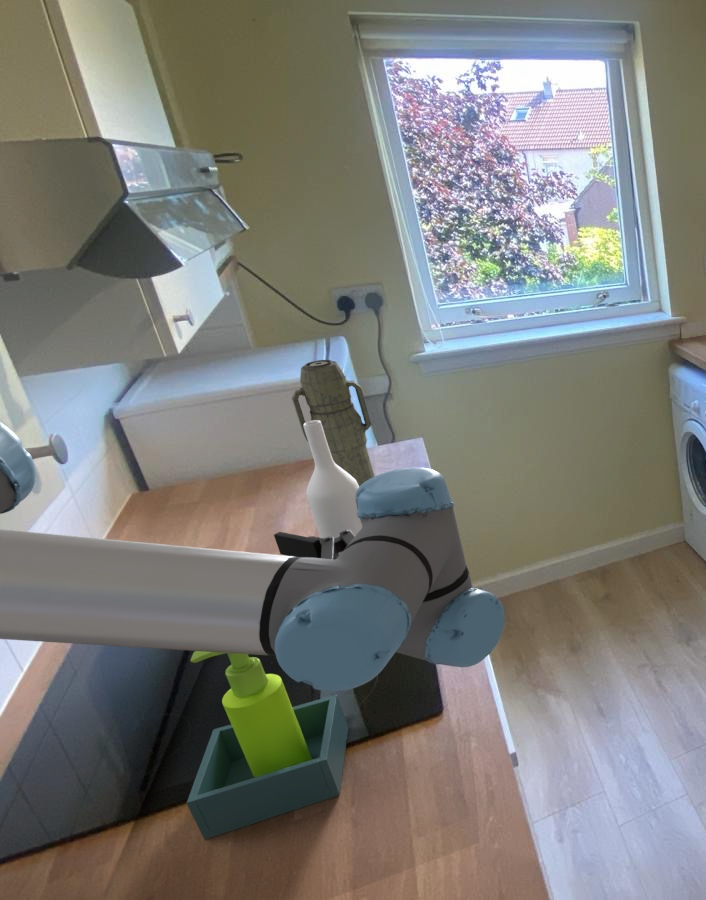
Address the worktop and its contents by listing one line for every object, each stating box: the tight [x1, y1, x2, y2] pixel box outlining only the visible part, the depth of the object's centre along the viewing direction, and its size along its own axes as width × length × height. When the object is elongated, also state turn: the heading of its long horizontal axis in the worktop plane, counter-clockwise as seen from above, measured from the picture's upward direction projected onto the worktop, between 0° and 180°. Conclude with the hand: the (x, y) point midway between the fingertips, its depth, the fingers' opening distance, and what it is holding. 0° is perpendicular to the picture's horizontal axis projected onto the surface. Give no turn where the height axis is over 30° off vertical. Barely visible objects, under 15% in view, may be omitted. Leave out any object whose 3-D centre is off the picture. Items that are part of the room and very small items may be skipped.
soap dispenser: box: [189, 651, 312, 778], centre depth 88 cm, size 6×7×20 cm
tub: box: [186, 694, 349, 841], centre depth 91 cm, size 14×13×6 cm
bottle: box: [303, 420, 362, 555], centre depth 131 cm, size 8×8×30 cm
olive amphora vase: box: [291, 359, 376, 487], centre depth 150 cm, size 9×12×35 cm
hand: (222, 572), depth 82 cm, fingers open, 13 cm apart
